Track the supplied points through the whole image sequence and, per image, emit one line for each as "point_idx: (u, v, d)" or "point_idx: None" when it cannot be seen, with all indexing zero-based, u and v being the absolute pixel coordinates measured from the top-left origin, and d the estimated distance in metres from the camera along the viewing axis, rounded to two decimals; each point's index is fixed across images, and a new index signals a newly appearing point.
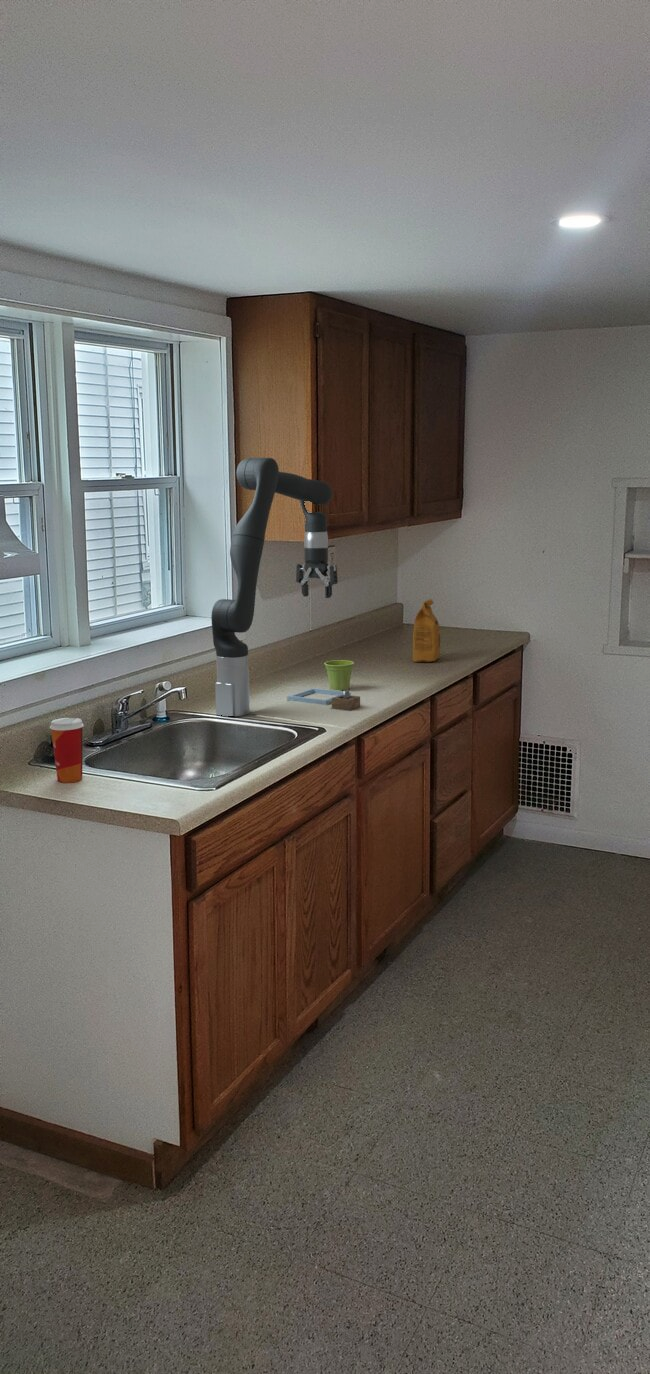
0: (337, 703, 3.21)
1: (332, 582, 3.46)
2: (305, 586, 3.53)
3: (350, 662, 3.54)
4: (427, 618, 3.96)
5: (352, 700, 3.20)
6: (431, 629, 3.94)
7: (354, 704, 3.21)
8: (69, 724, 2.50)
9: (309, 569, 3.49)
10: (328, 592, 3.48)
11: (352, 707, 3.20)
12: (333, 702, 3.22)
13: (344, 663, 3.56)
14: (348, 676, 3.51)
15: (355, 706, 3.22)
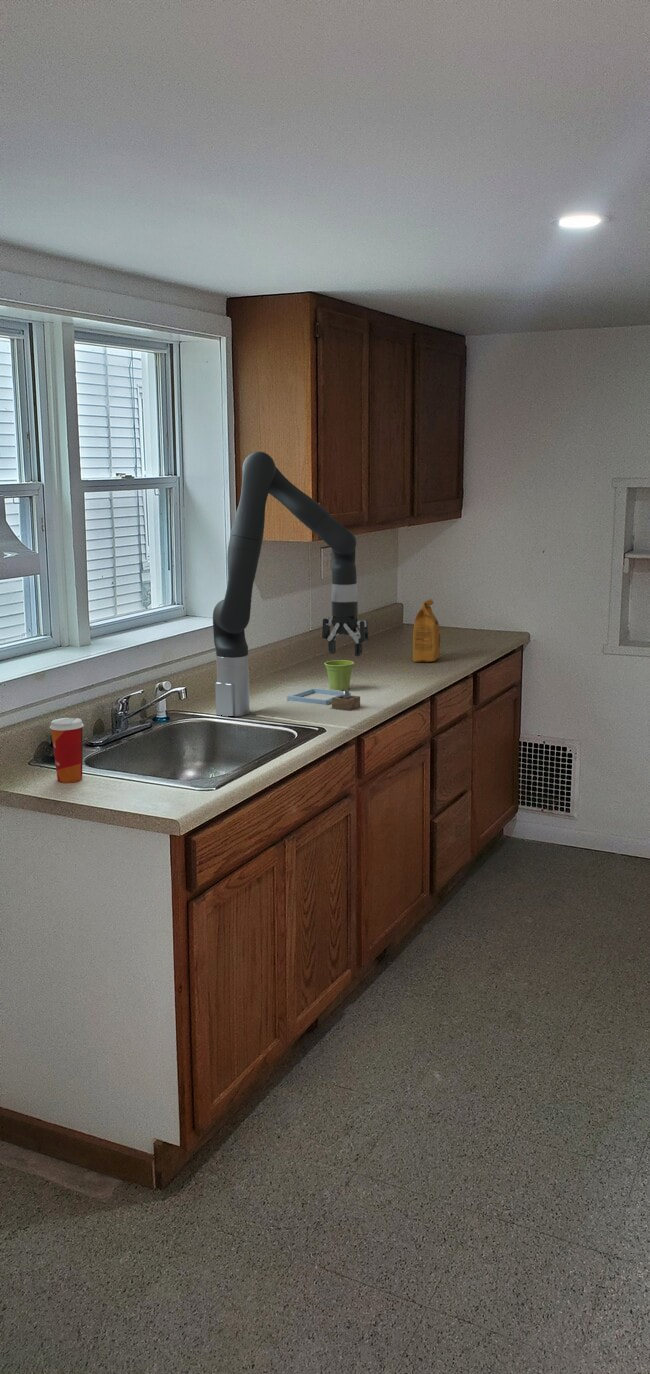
0: (337, 703, 3.21)
1: (363, 639, 3.15)
2: (332, 643, 3.22)
3: (350, 662, 3.54)
4: (427, 618, 3.96)
5: (352, 700, 3.20)
6: (431, 629, 3.94)
7: (354, 704, 3.21)
8: (69, 724, 2.50)
9: (337, 625, 3.18)
10: (358, 650, 3.17)
11: (352, 707, 3.20)
12: (333, 702, 3.22)
13: (344, 663, 3.56)
14: (348, 676, 3.51)
15: (355, 706, 3.22)
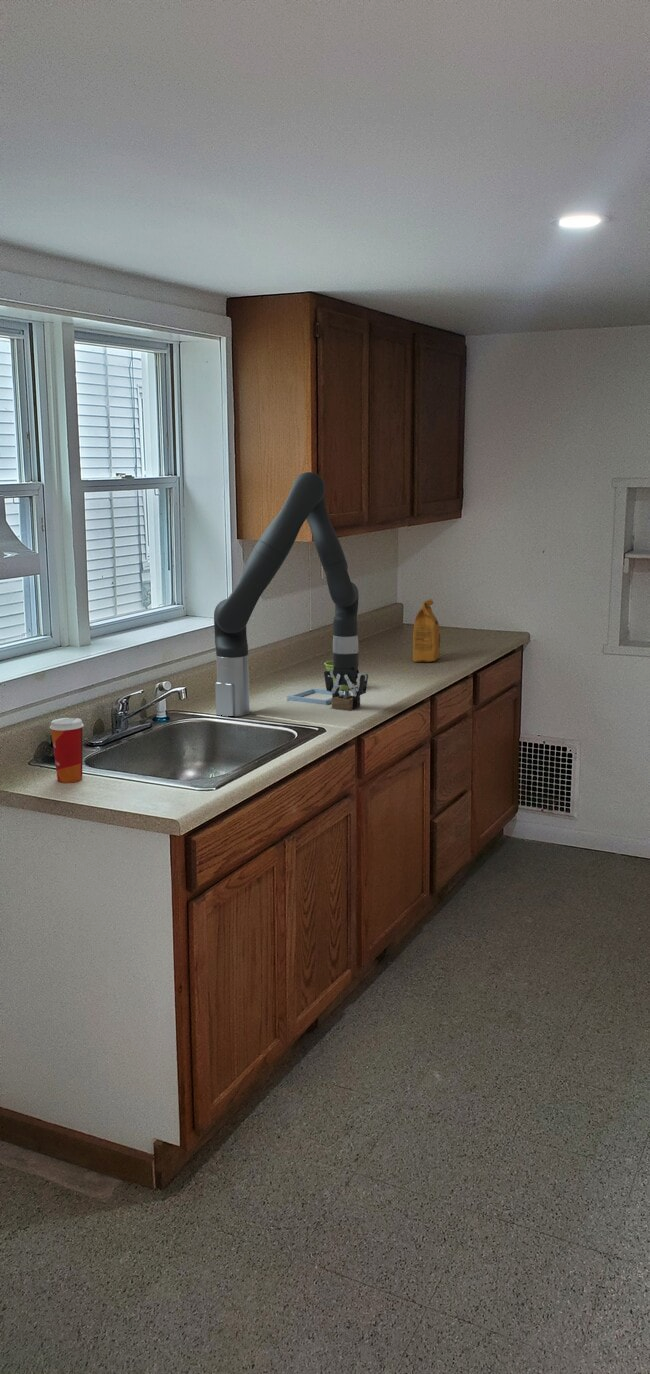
0: (337, 703, 3.21)
1: (360, 692, 3.18)
2: (336, 695, 3.24)
3: None
4: (427, 618, 3.96)
5: (352, 700, 3.20)
6: (431, 629, 3.94)
7: None
8: (69, 724, 2.50)
9: (338, 675, 3.20)
10: (356, 702, 3.20)
11: (352, 707, 3.20)
12: (333, 702, 3.22)
13: None
14: None
15: None
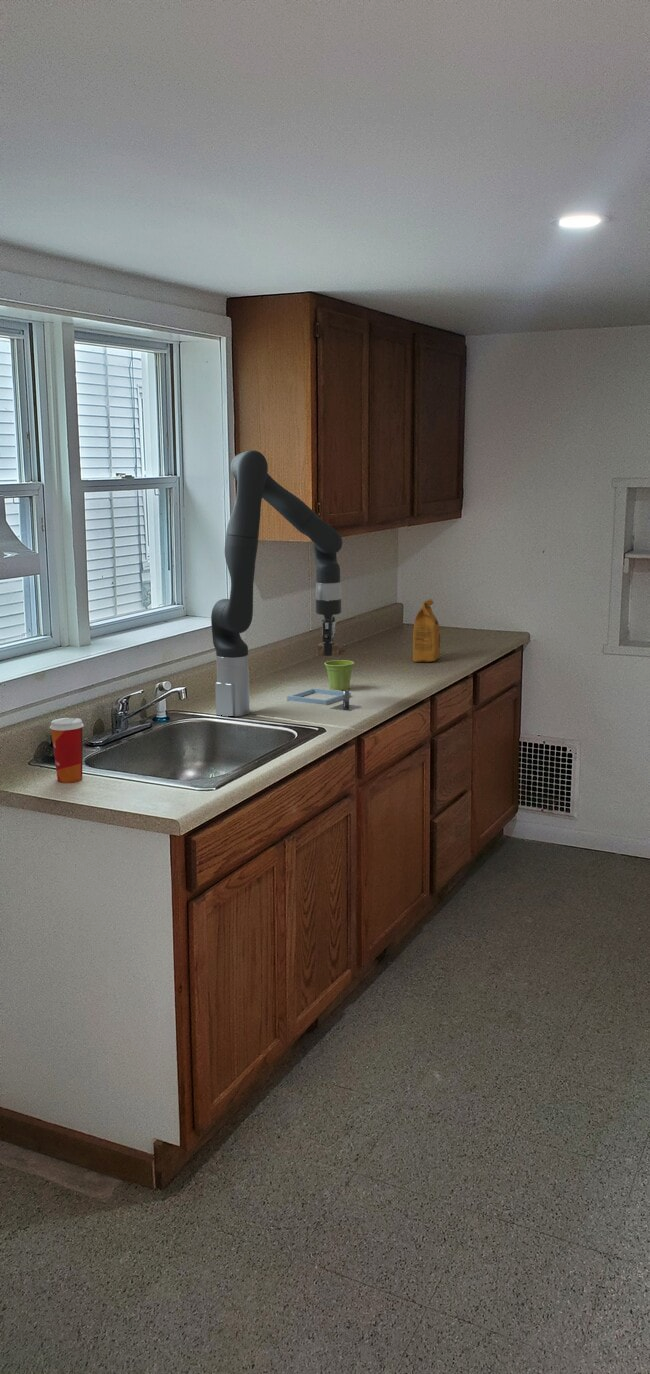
0: None
1: (323, 640, 3.22)
2: None
3: (350, 662, 3.54)
4: (427, 618, 3.96)
5: (323, 647, 3.25)
6: (431, 629, 3.94)
7: None
8: (69, 724, 2.50)
9: (322, 621, 3.28)
10: (325, 649, 3.24)
11: (323, 653, 3.25)
12: None
13: (344, 663, 3.56)
14: (348, 676, 3.51)
15: None
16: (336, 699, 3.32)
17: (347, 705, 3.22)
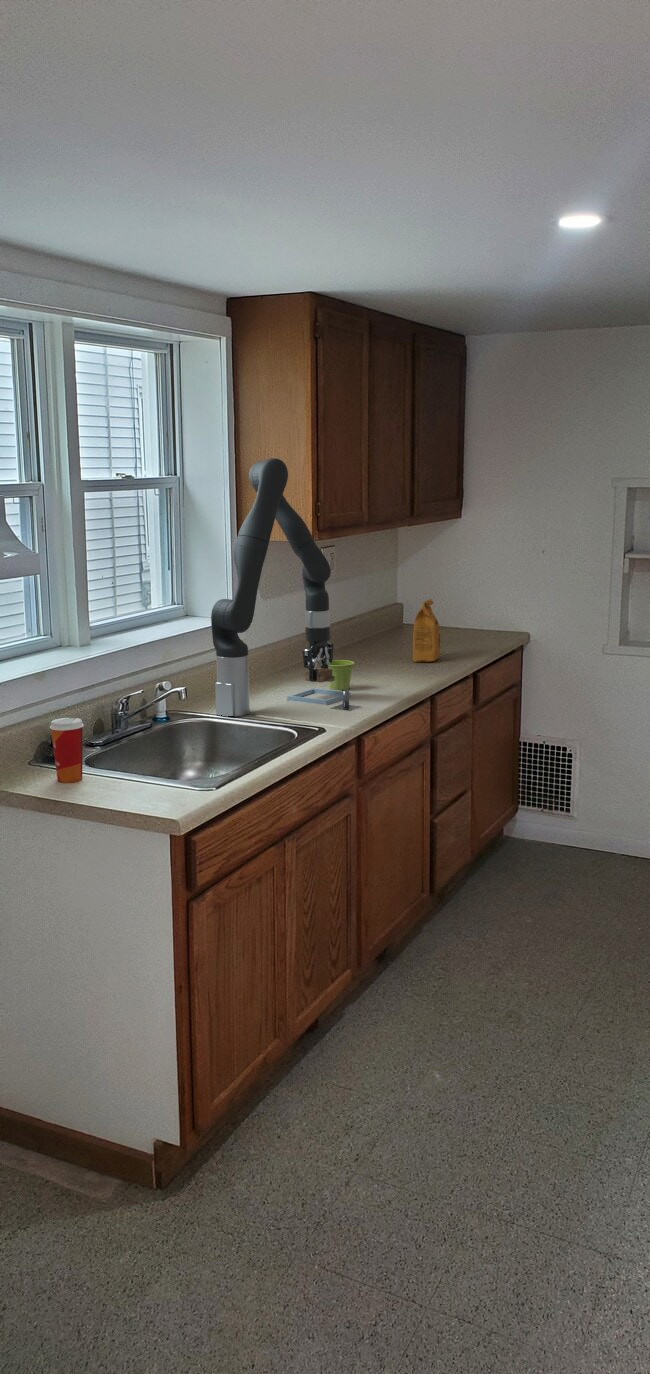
0: None
1: None
2: (322, 667, 3.38)
3: (350, 662, 3.54)
4: (427, 618, 3.96)
5: None
6: (431, 629, 3.94)
7: None
8: (69, 724, 2.50)
9: None
10: None
11: None
12: None
13: (344, 663, 3.56)
14: (348, 676, 3.50)
15: None
16: (336, 699, 3.32)
17: (347, 705, 3.22)
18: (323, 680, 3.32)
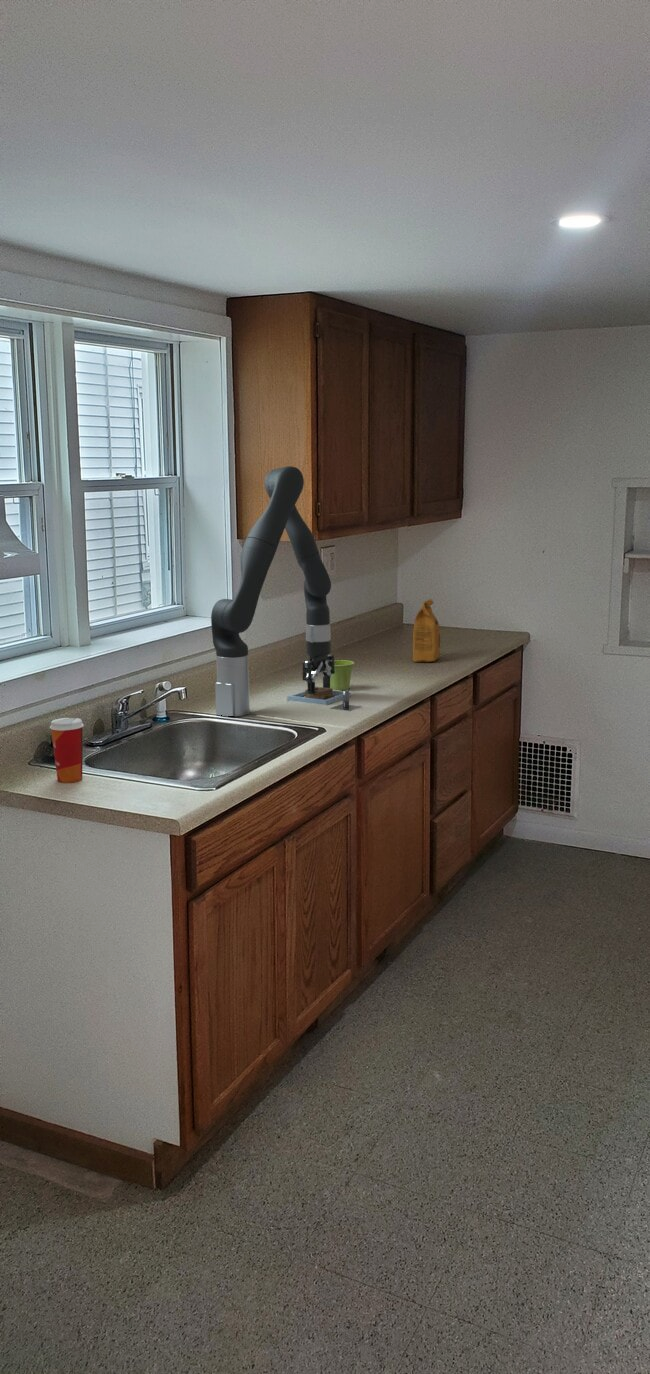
0: None
1: None
2: (324, 678, 3.39)
3: (350, 662, 3.54)
4: (427, 618, 3.96)
5: None
6: (431, 629, 3.94)
7: (313, 696, 3.34)
8: (69, 724, 2.50)
9: None
10: None
11: None
12: None
13: (344, 663, 3.56)
14: (348, 676, 3.51)
15: None
16: (336, 699, 3.32)
17: (347, 705, 3.22)
18: (323, 699, 3.33)
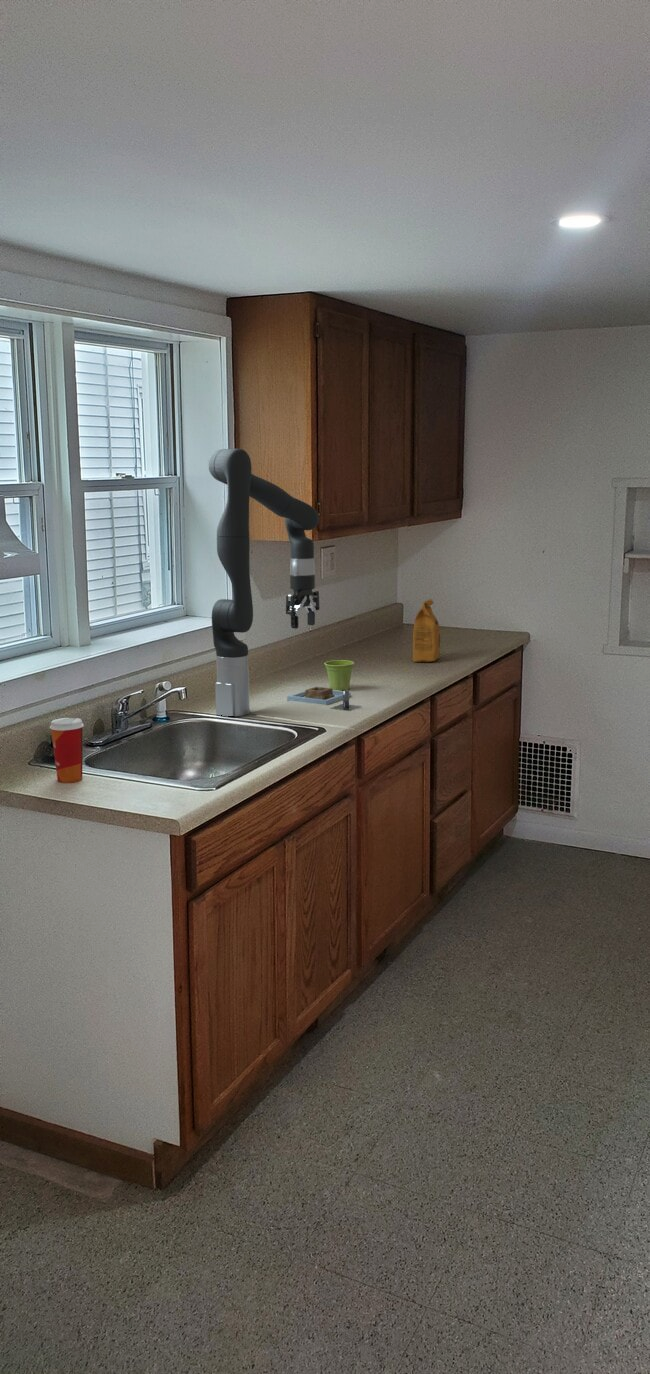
0: None
1: None
2: (308, 614, 3.38)
3: (350, 662, 3.54)
4: (427, 618, 3.96)
5: (310, 691, 3.34)
6: (431, 629, 3.94)
7: (313, 696, 3.34)
8: (69, 724, 2.50)
9: None
10: None
11: None
12: None
13: (344, 663, 3.56)
14: (348, 676, 3.50)
15: None
16: (336, 699, 3.32)
17: (347, 705, 3.22)
18: (323, 699, 3.33)
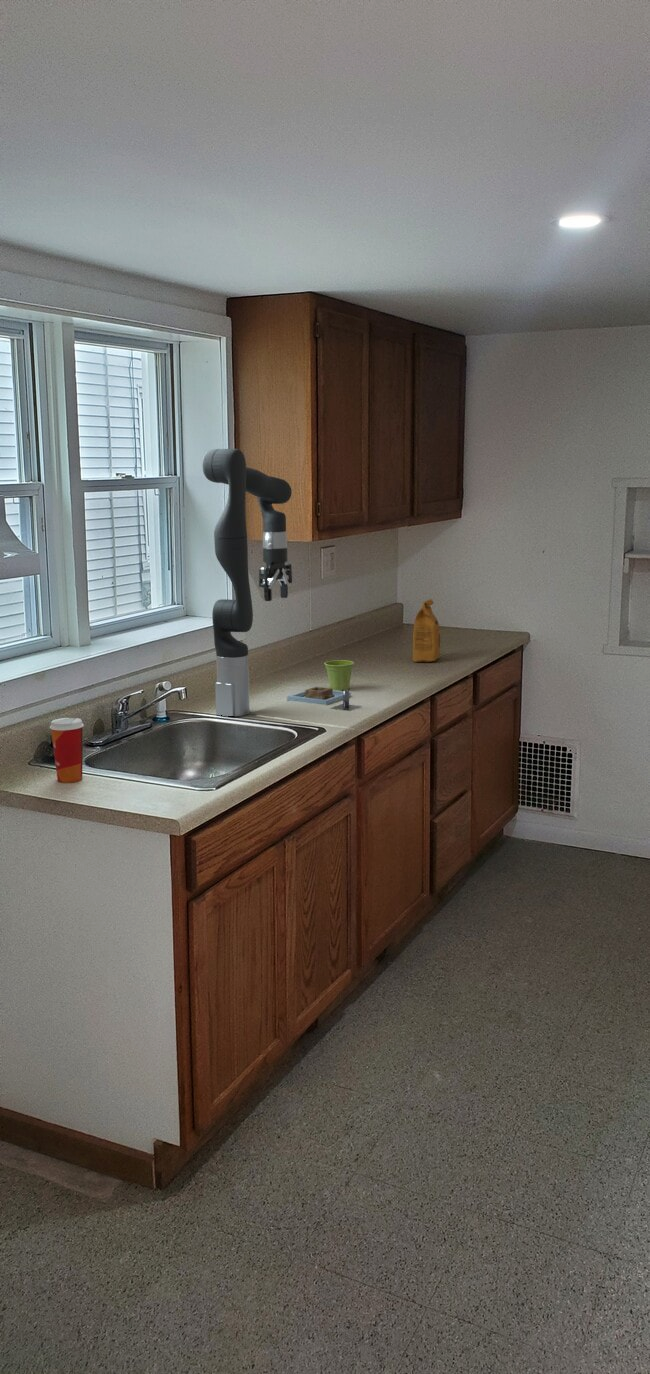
0: None
1: None
2: (281, 587, 3.43)
3: (350, 662, 3.54)
4: (427, 618, 3.96)
5: (310, 691, 3.34)
6: (431, 629, 3.94)
7: (313, 696, 3.34)
8: (69, 724, 2.50)
9: None
10: None
11: None
12: None
13: (344, 663, 3.56)
14: (348, 676, 3.50)
15: None
16: (336, 699, 3.32)
17: (347, 705, 3.22)
18: (323, 699, 3.33)
